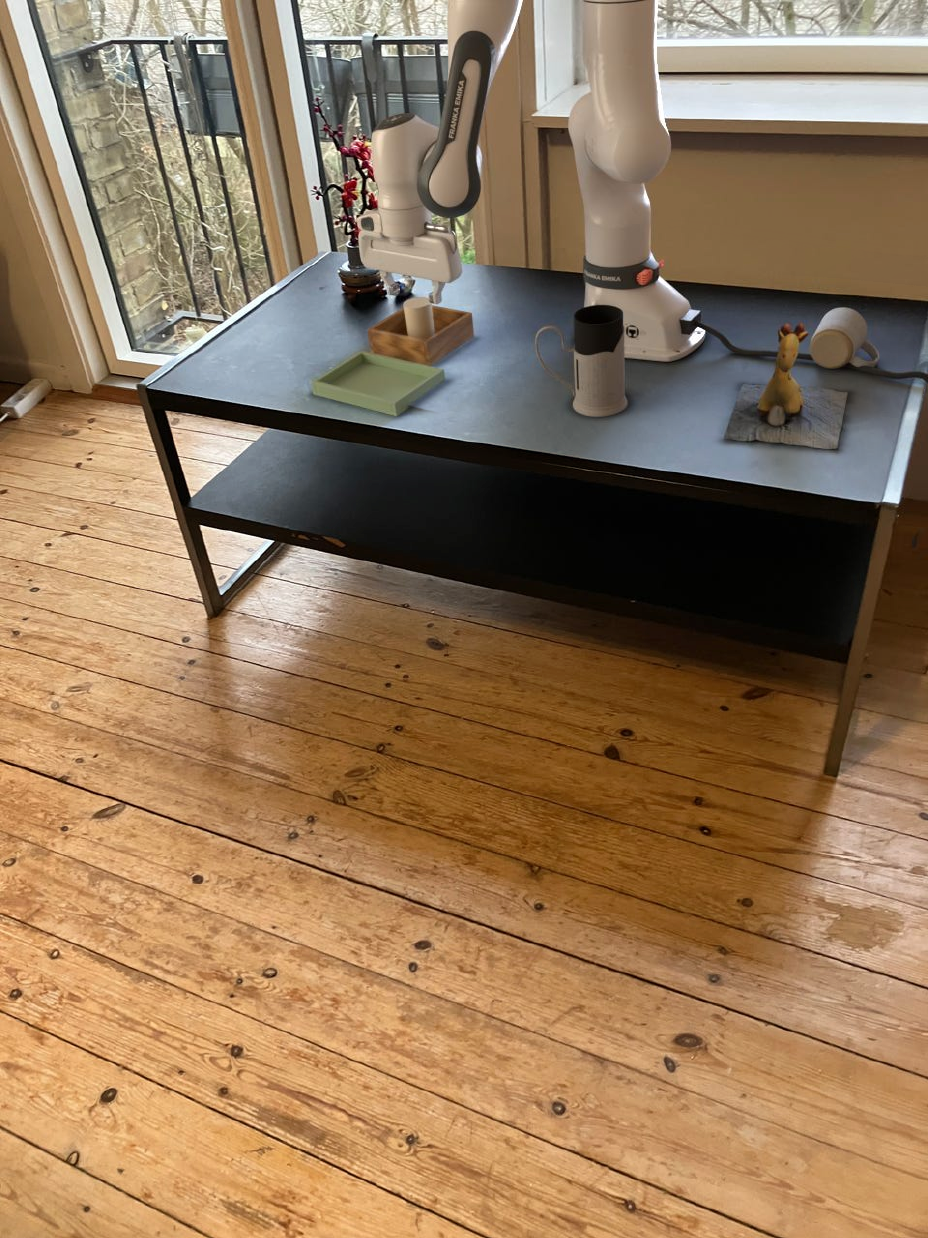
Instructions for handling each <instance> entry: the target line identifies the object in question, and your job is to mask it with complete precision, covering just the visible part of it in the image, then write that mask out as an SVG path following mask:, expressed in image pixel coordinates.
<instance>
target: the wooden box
mask: <svg viewBox="0 0 928 1238" xmlns="http://www.w3.org/2000/svg"><path fill="white" fill-rule="evenodd" d="M432 312H433V320H434V328H435V334H434V335H433V336H431V337H430V338H428V339H427V340H424V339H420V338H415V337H410V336H408V334H407V326H406V319H405V312H404V306H403V307H401V308H400V309H398V310H397V311H395V312H393V313H392V314H390V315H389V316H387V317H385V318H384V319H382V320H380V321H379V322H377V323H375V324H374V325H372V326H370V327H368V329H366V331H367V336H368V337H367V338H368V343H369V348H370V353H374V354H378V355H383V356H387V357H392V358H396V359H401V360H405V361H409V362H414V363H418V364H423V365H427V366H431V367H433V365H434V364H436V363H437V362H439V361H441V360H442V359H443V358H445V357H447V356H449V354H450V353H453V352H454V351H455V350H457V349H458V348H460V347H461V346H462V345H464V344H465V343H467V342H468V341H469V340H471V339H473V338H474V337H475V331H474V322H473V313H472V312H469V311H464V310H459V309H453V308H448V307H443V306H438V305H432Z"/></svg>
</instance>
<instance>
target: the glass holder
mask: <svg viewBox="0 0 928 1238" xmlns="http://www.w3.org/2000/svg"><path fill="white" fill-rule="evenodd" d="M547 330H553V331H555V332H557V333H558V334H559V336H560V339H561V347H562V349H563V350H564V351H565V352H567V353H573V364H574V365H573V366H574V367H573V369H574V370H573V371H574V387H573V386H572V385H571V384H569V383H568V382H567V381H565V379H563V378H561V377H559V376H558V375H556V374H555V373H554V372H552V371H551V370H550V369H549V368H548V367H547V365H546V364H545V362H544V360H543V359H542V357H541V353H540V351H539V344H538V340H539V336H540V334H541V333H542V332H545V331H547ZM573 332H574V333H573V335H574V336H573V337H574V345H573V348H567V347H566V345H565V337H564V334H563V332H562V331H561V329H560V328H558V327H556V326H554V325H546V326H544V327H542V328H540V329H538V331H537V333H536V334H535V341H534V344H535V353H536V356H537V359H538V361H539V363H540V364H541V366H542V368H543V369H544V371H545V373H547V374H548V375H550V376H551V377H552V378H554V379H555V380H556V381H558V382H559V383H561V384H563V385H564V386H565V387H567V388H568V389H570V390H571V391H572V395H573V397H574V400H573V402H572V408H573V409H574V411H576V413H578V414H580V415H583V416H587V417H592V418H593V417H594V418H601V417H603V418H604V417H610V416H614V415H616V414H618V413H621V412H623V411H624V410H625V409H626V408H627V406H628V398H627V397H626V394H625V393H626V391H625V389H626V387H625V385H626V384H625V381H626V380H625V375H626V374H625V373H626V372H625V370H626V369H625V366H626V365H625V359H626V358H625V355H624V326H623V311H622V310H621V309H620V308H618V307H615V306H611V305H592V306H587V307H584V306H583V307H581V308H579V309H577V310H576V311H575V312H574V314H573Z"/></svg>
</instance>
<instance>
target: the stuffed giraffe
mask: <svg viewBox="0 0 928 1238" xmlns="http://www.w3.org/2000/svg"><path fill="white" fill-rule="evenodd" d="M777 335H778V343H779V344H778V350H777V351H778V355H777V357H776V360H775V366H774V371H773V373H772V375H771V377H770V378H769V380H768V382H767V384H766V385H763V384H748V383H742V385H741V388H740V390H739V392H738V394H737V395H738V396H737V398H736V401H735V403H734V405H733V409H732V411H731V414H730V418H729V420H728V424H727V426H726V430H725V433H724V436H723V439H726V440H733V441H734V440H735V441H739V442H752V441H755V440H758V441H759V442H766V443H773V444H775V443H783V444H786V445H789V446H790V445H795V446H806V447H809V448H816V449H823V450H831V449H833V450H834V449H837V448H838V445H839V440H840V436H841V435H840V434H841V429H842V424H843V419H844V413H845V408H846V403H847V398H848V391H847V392H846V391H845V392H844V391H843V392H842V391H836V390H835V389H831V388H830V389H829V388H824V387H822V386H821V387H817V386H814V387H805V386H800V385H799V384H798V382H797V381H796V380H795V379H794V377H793V376H792V374H791V369H792V368H793V367H794V365H795V362H796V360H797V359H796V357H797V355H798V353H799V350H800V349H799V348H800V343H802V342H804V340H805V339H806V338H807V337H808V336H809V331H805V324H803V323H802V322H800V323H798V324H797V325H796V326H795V327H794V330H793V332H792V327H791V325H790V324H789V323H783V324H782V325H781V327H780V328H779V329H778V330H777Z"/></svg>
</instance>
